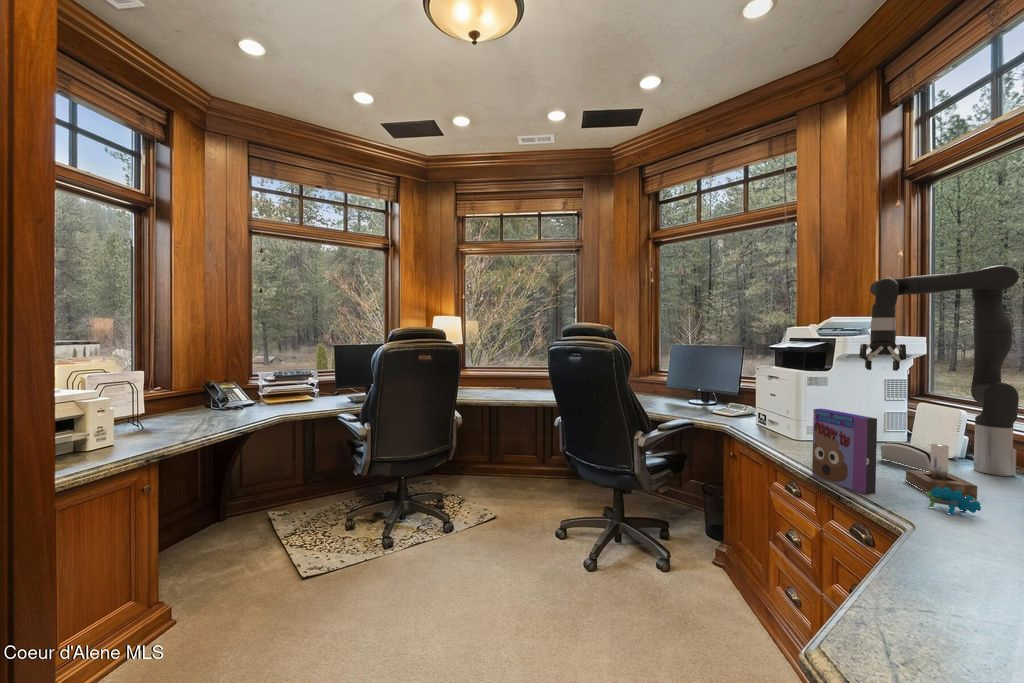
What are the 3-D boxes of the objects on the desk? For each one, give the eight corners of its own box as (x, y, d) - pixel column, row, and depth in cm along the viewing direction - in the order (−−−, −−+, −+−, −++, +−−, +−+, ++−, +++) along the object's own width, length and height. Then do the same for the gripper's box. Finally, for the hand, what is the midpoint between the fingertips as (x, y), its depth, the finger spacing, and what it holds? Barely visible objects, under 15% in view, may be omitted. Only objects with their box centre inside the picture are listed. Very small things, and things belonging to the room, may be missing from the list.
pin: (942, 486, 138) (943, 444, 138) (951, 490, 134) (951, 447, 134) (927, 485, 139) (927, 443, 139) (935, 489, 135) (936, 446, 135)
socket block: (950, 485, 140) (950, 473, 140) (977, 498, 129) (977, 486, 129) (905, 481, 144) (905, 469, 144) (927, 494, 133) (928, 481, 133)
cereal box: (812, 476, 149) (813, 408, 149) (822, 475, 150) (824, 408, 150) (863, 494, 132) (865, 418, 132) (875, 493, 133) (877, 417, 133)
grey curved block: (941, 472, 154) (935, 447, 153) (932, 477, 153) (926, 452, 152) (890, 458, 170) (884, 436, 169) (882, 463, 169) (876, 440, 168)
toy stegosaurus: (990, 512, 115) (970, 489, 114) (983, 530, 114) (964, 507, 112) (938, 502, 126) (920, 481, 124) (932, 519, 124) (913, 497, 122)
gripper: (866, 329, 165) (865, 370, 165) (911, 329, 161) (910, 371, 161) (856, 329, 172) (856, 369, 173) (899, 329, 168) (898, 370, 168)
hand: (882, 370), depth 167 cm, fingers open, 8 cm apart
